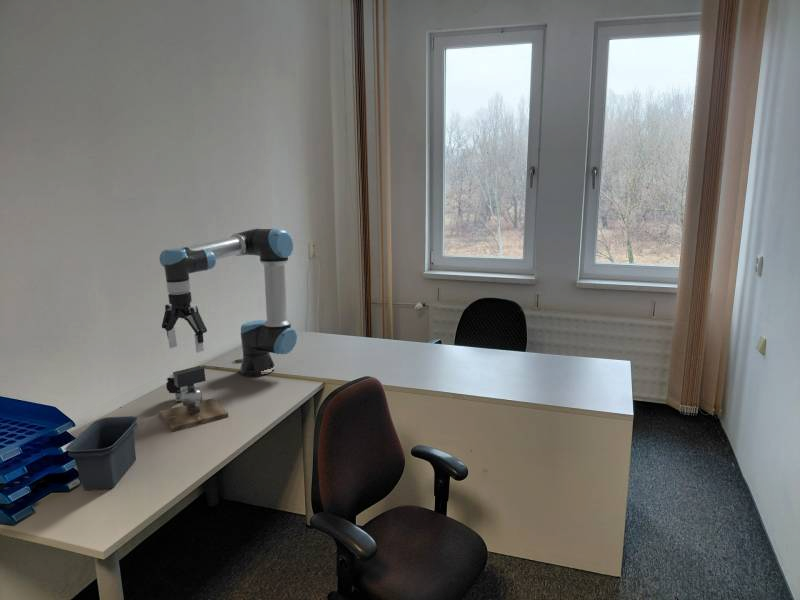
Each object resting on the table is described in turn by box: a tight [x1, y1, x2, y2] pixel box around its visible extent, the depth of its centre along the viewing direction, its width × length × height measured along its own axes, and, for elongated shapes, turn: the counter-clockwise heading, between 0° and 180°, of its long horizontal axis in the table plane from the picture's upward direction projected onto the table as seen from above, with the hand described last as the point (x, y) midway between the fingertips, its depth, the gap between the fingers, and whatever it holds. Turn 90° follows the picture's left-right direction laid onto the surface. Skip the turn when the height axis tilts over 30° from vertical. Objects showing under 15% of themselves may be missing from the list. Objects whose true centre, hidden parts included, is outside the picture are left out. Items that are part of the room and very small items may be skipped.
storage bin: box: [65, 415, 139, 491], centre depth 166 cm, size 21×16×14 cm
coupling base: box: [159, 397, 229, 432], centre depth 207 cm, size 20×18×5 cm
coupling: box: [172, 365, 206, 406], centre depth 205 cm, size 10×10×13 cm
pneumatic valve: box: [165, 373, 187, 402], centre depth 222 cm, size 6×12×12 cm, turn 169°
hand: (186, 349), depth 202 cm, fingers open, 13 cm apart
